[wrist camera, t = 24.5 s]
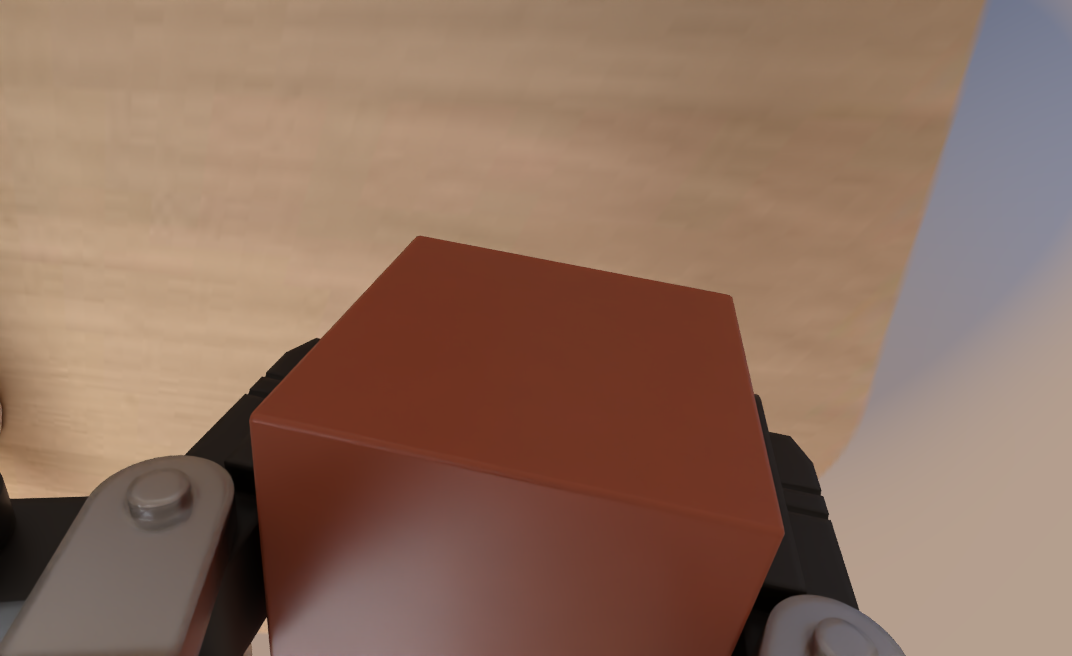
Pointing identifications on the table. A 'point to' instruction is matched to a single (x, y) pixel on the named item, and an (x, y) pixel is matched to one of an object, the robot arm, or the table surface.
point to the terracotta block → (515, 468)
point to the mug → (0, 416)
